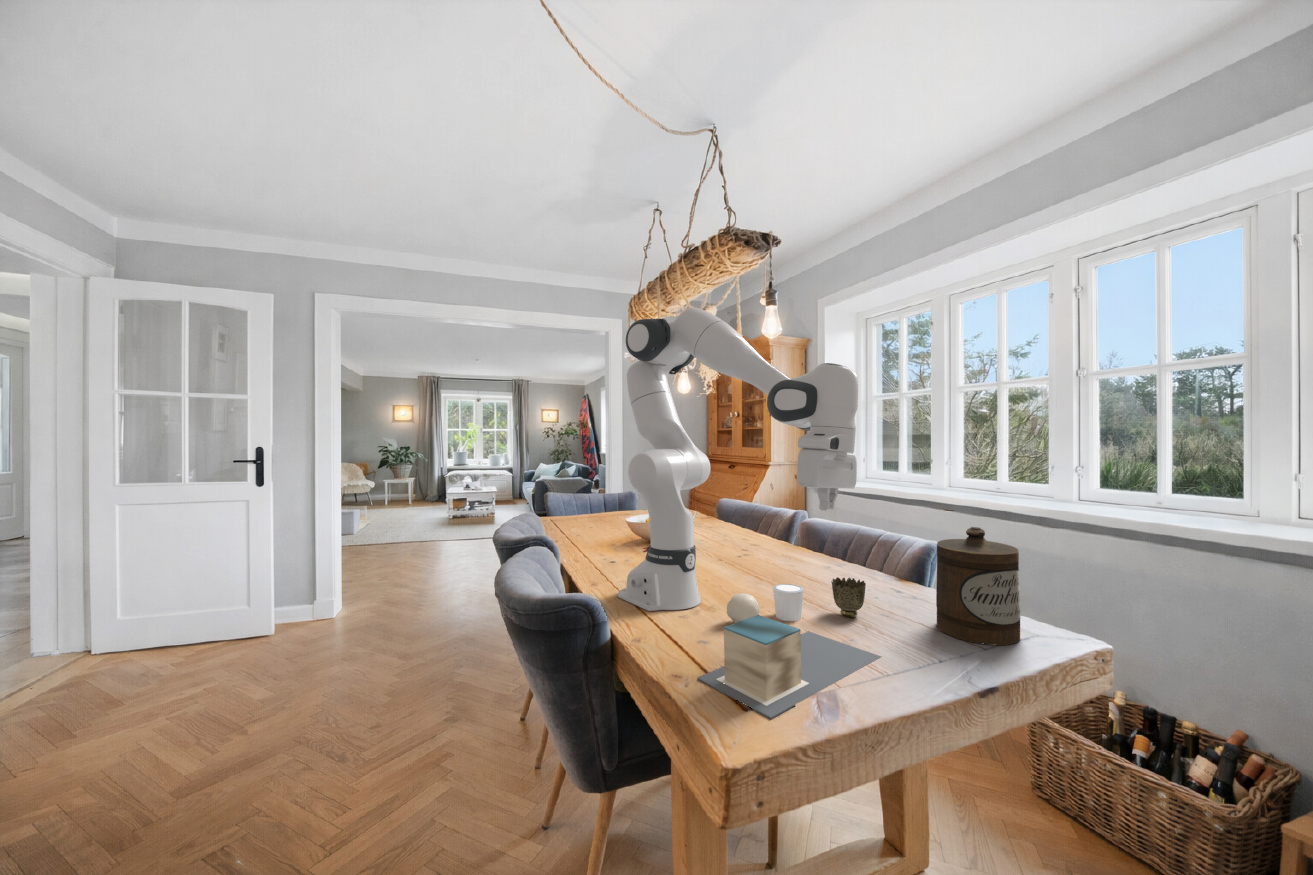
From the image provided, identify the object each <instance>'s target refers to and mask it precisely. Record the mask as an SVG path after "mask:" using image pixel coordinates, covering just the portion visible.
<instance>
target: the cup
mask: <svg viewBox="0 0 1313 875" xmlns="http://www.w3.org/2000/svg"><path fill="white" fill-rule="evenodd" d="M830 583H831V588H832V589H831V590H832V595H833V596H832V597H833V600H834V603H835V605H836V606H837V607H838V609H840V615H841V616H842V617H845V618H849V619H852V618H856V617H857V616H858V611H859V610H860V609H862V607H863V605H864V602H865V595H866V584H867V583H866V582H865V580H862V581H861V580H860V579H858V580H856V579H855V578H853V577H852V578H851V577H848V578H847V579H846V578H845V577H842V579H841V578H840V577H839V576H837V577H836V578H834V577H832V580H831V582H830Z"/></svg>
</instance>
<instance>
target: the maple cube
mask: <svg viewBox="0 0 1313 875" xmlns="http://www.w3.org/2000/svg"><path fill="white" fill-rule="evenodd" d="M800 635H801V628H798V627H796V626H792V625H789V624H787V623H784V622H780V621H778V620H774V619H772V618H769V617H766V616H763V615H760V614H759V615H756V616H754V617H751V618H748V619H745V620H742V621H740V622H737V623H735V622H734V623H732V624H728V625H726V626H723V646H724V648H723V653H724V654H723V656H724V657H723V658H724V660H723V661H724V666H723V667H724V668H725V680H726V681H728V682H730V683H732V684H734V685H736V686H738V687H740V688H742V689H744V690H746V691H748V692H750V693H752V694H754V695H756V696H758V697H760V698H762V699H764V700H766V701H768V700H770V699H772V698H773V697H775V696H777V695H779V694H781V693H783V692H785V691H787V690H789V689H790V688H792V687H794V686H796V685H798V684H800V683H801V636H800Z"/></svg>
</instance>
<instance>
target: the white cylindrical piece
mask: <svg viewBox="0 0 1313 875" xmlns="http://www.w3.org/2000/svg"><path fill="white" fill-rule="evenodd" d="M772 590H773V591H772V592H773V599H774V610H775V617H776V618H777V619H778V620H781V621H784V622H797V621H800V620H802V618H803V617H802V616H803V605H804V604H803V602H804V592H805V591H804V590H805V589H804V588H803V587H802V586H801V585H797V584H793V583H781V584H780V583H779V584H776V585H773V586H772Z"/></svg>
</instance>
